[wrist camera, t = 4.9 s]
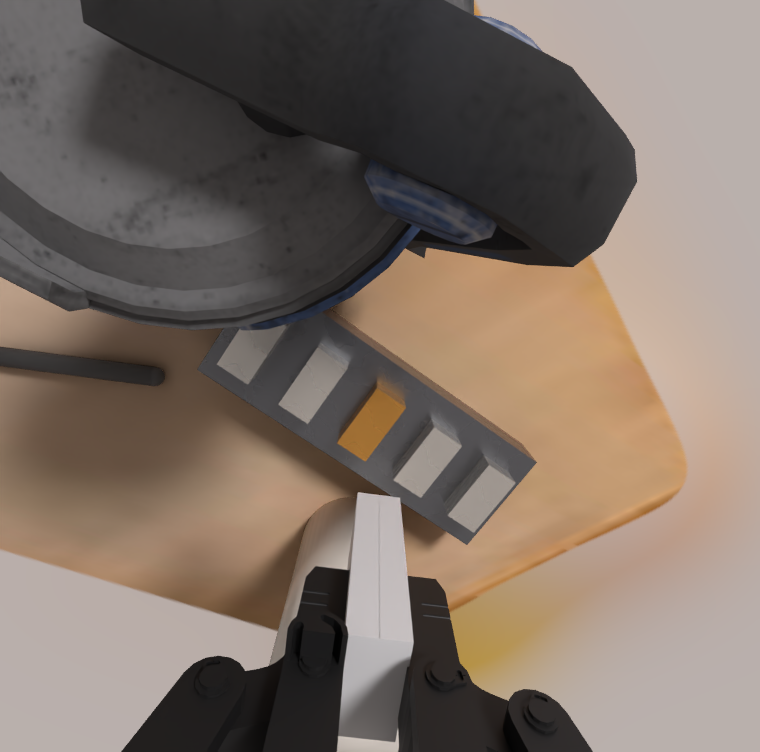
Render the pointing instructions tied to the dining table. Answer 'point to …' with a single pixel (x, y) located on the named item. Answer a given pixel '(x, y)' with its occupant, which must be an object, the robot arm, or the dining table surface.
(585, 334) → the dining table surface
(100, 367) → the dark gray rod
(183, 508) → the dining table surface
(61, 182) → the beverage bottle
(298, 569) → the white glossy cylinder
